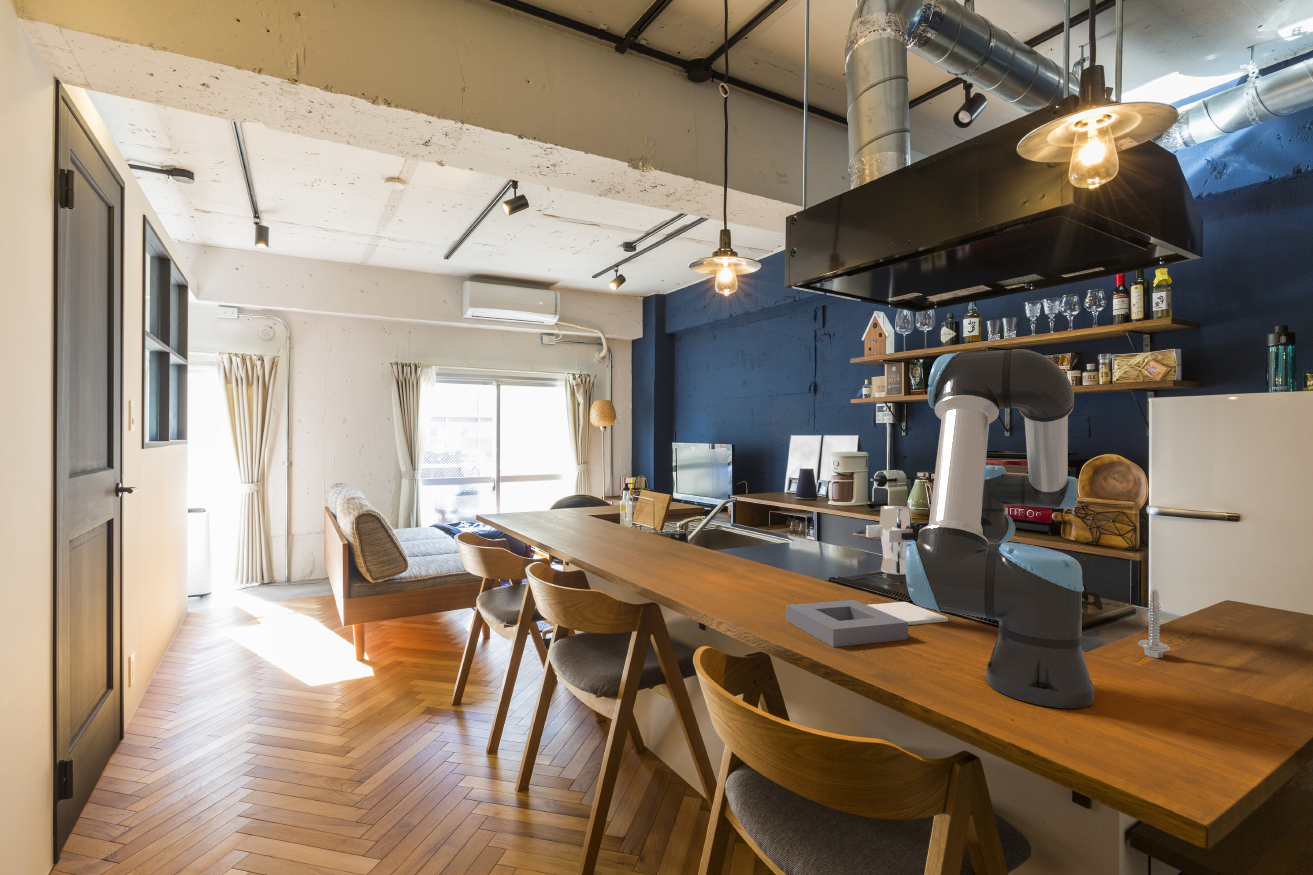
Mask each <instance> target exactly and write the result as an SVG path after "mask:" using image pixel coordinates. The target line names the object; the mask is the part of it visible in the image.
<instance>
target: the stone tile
mask: <svg viewBox="0 0 1313 875" xmlns="http://www.w3.org/2000/svg"><path fill="white" fill-rule="evenodd" d="M867 605H868V606H870V607H873V608H875V609H878V610H880V611H882V612H885V613H887V614H890V615H892V616H895V617H897V618H899V619H902V620H904V621H907V622H908V626H911V625H912V626H914V625H921V624H922V625H924V624H933V623H942V622H949V617H948V616H945V615H942V614H939V613H937V612H934V611H931V610H928V609H927V608H924V607H920V606H918V605H916V604H914V603H910V602H907V601H898V602H897V601H895V602H886V603H872V604H871V603H870V604H867Z"/></svg>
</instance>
